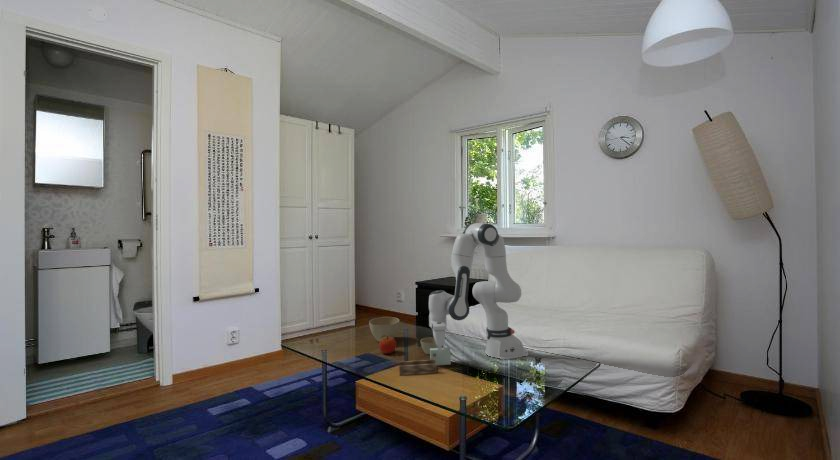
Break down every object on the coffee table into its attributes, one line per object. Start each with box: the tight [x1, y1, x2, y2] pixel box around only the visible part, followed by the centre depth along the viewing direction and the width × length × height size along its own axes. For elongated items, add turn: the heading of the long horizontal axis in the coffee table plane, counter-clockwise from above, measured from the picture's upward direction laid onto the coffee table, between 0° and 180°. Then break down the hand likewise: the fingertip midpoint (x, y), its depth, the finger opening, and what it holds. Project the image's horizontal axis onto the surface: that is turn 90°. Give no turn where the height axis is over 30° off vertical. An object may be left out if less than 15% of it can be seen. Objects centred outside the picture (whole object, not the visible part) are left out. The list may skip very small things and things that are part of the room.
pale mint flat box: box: [429, 346, 452, 366], centre depth 225 cm, size 10×3×8 cm, turn 93°
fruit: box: [378, 335, 397, 355], centre depth 246 cm, size 10×10×10 cm
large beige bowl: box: [368, 316, 400, 343], centre depth 266 cm, size 18×18×12 cm
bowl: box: [420, 337, 438, 356], centre depth 242 cm, size 10×10×7 cm
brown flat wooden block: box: [398, 359, 438, 376], centre depth 218 cm, size 18×8×4 cm, turn 93°
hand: (438, 349), depth 224 cm, fingers open, 8 cm apart
